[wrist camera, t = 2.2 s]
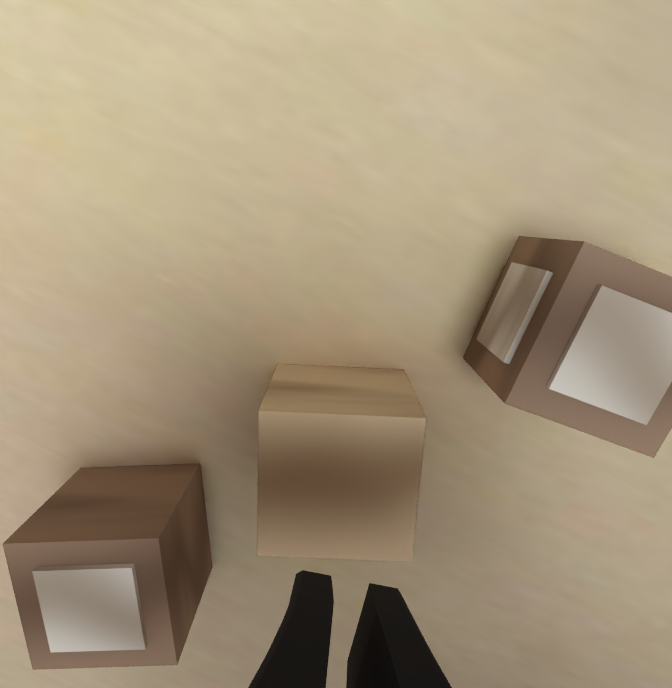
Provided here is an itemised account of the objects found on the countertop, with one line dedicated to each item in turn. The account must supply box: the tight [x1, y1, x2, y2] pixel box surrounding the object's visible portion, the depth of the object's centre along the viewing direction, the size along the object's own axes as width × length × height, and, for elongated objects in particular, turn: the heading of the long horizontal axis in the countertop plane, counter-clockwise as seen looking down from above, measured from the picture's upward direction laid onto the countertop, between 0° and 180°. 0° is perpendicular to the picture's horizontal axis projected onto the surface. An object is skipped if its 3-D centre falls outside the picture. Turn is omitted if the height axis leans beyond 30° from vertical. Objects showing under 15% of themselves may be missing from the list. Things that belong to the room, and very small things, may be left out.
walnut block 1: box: [3, 464, 212, 670], centre depth 18 cm, size 5×5×5 cm
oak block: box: [257, 364, 426, 562], centre depth 17 cm, size 5×5×5 cm
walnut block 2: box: [463, 236, 672, 458], centre depth 16 cm, size 5×5×5 cm
